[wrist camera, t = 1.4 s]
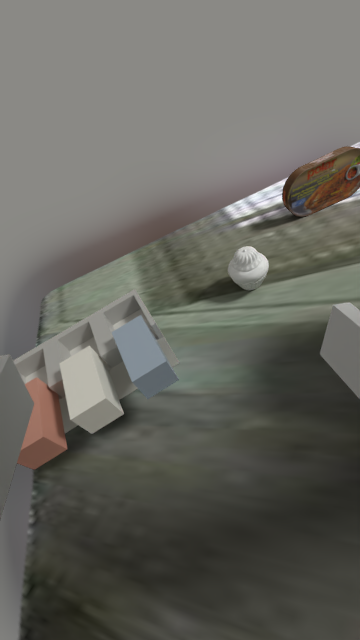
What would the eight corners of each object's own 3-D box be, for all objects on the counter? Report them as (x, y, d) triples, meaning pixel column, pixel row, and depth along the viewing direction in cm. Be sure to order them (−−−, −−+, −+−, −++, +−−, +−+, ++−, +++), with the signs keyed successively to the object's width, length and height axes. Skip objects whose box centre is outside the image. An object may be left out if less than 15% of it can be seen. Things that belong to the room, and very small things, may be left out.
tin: (289, 224, 54) (287, 180, 48) (281, 216, 56) (277, 173, 50) (367, 189, 53) (375, 140, 47) (355, 183, 55) (361, 135, 49)
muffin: (260, 301, 45) (254, 266, 40) (225, 292, 48) (215, 260, 43) (277, 273, 47) (273, 237, 42) (242, 267, 51) (235, 233, 46)
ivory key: (106, 363, 38) (89, 345, 35) (124, 413, 32) (105, 398, 29) (78, 379, 37) (59, 363, 34) (91, 433, 32) (70, 420, 29)
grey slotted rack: (159, 328, 48) (134, 288, 41) (179, 362, 42) (155, 323, 36) (50, 394, 46) (6, 364, 40) (56, 438, 41) (7, 412, 34)
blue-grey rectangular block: (153, 334, 38) (140, 314, 35) (179, 379, 33) (166, 360, 30) (126, 350, 38) (111, 332, 35) (147, 399, 32) (131, 382, 29)
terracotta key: (57, 392, 37) (36, 377, 34) (67, 449, 32) (43, 436, 29) (29, 409, 37) (5, 395, 34) (34, 469, 31) (6, 459, 28)
